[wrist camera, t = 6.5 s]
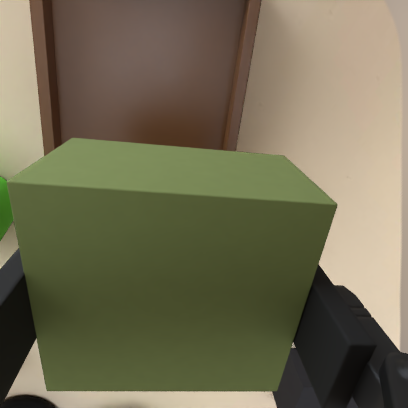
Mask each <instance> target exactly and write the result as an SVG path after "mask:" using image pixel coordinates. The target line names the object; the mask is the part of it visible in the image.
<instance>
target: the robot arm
mask: <svg viewBox="0 0 408 408" xmlns="http://www.w3.org/2000/svg"><path fill="white" fill-rule="evenodd" d="M36 338H37V337H36V331H35V326H34V321H33V315H32V310H31V305H30V299H29V294H28V289H27V283H26V278H25V273H24V271H23V265H22V260H21V255H20V250H19V248H18V250H17V251H16V252H15V253H14V254H13V255H12V256H11V258H10V259H9V260H8V261H7V262H6V263H5V264H4V266H3V267H2V268H1V269H0V407H1V405H2V404H3V402H4V400H5V398H6V396H7V394H8V392H9V390H10V388H11V386H12V384H13V382H14V380H15V378H16V376H17V375H18V373H19V371H20V369H21V367H22V365H23V363H24V361H25V359H26V357H27V355H28V353H29V351H30V349H31V347H32V345H33V344H34V342H35V340H36ZM293 342H294V345H295V347H296V349H297V352H298V354H299V357H300V359H301V361H302V364H303V366H304V368H305V371H306V373H307V375H308V378H309V380H310V382H311V385H312V387H313V389H314V392H315V394H316V396H317V399H318V401H319V403H320V406H321V408H347V406H348V404H349V402H350V400H351V398H352V397H353V399H354V401H355V403H356V404H357V406H358V408H408V354H406V353H402V352H400V351H399V350H398V349H397V347H396V346H395V345H394V344H393V342H392V341H391V340H390V338H389V337H388V336H387V335H386V333H385V332H384V331H383V330H382V328H381V327H380V326H379V324H378V323H377V322H376V321H375V319H374V318H372V317H371V314H370V313H369V312H368V311H367V309H366V308H364V305H363V304H362V303H361V302H360V300H359V299H358V298H357V297H356V295H355V294H353V293H352V292H351V291H349V290H348V289H347V288H345V287H344V286H338V285H333V284H332V282H331V281H330V279H329V278H328V277H327V275H326V274H325V273H324V271H323V270H322V268H321V267H320V266H319V264H318V267H317V270H316V273H315V276H314V279H313V282H312V285H311V288H310V291H309V294H308V297H307V300H306V303H305V306H304V310H303V313H302V316H301V319H300V322H299V325H298V328H297V331H296V334H295V337H294V340H293Z"/></svg>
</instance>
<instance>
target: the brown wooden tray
mask: <svg viewBox="0 0 408 408" xmlns="http://www.w3.org/2000/svg"><path fill="white" fill-rule="evenodd" d="M29 1H30V11H31V22H32V32H33V42H34V53H35V63H36V74H37V84H38V94H39V105H40V115H41V125H42V136H43V146H44V156H46V155H47V154H49V153H50V152H52V151H53V150H55V149H56V148H58V147H59V146H61V145H62V144H64V143H65V142H67V141H68V140H70V139H71V138H82V139H94V140H106V141H118V142H130V143H141V144H153V145H165V146H177V147H189V148H200V149H212V150H224V151H236V145H237V139H238V134H239V128H240V122H241V116H242V110H243V105H244V99H245V93H246V87H247V81H248V76H249V70H250V64H251V58H252V52H253V47H254V41H255V35H256V29H257V23H258V18H259V12H260V6H261V0H29Z"/></svg>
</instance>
